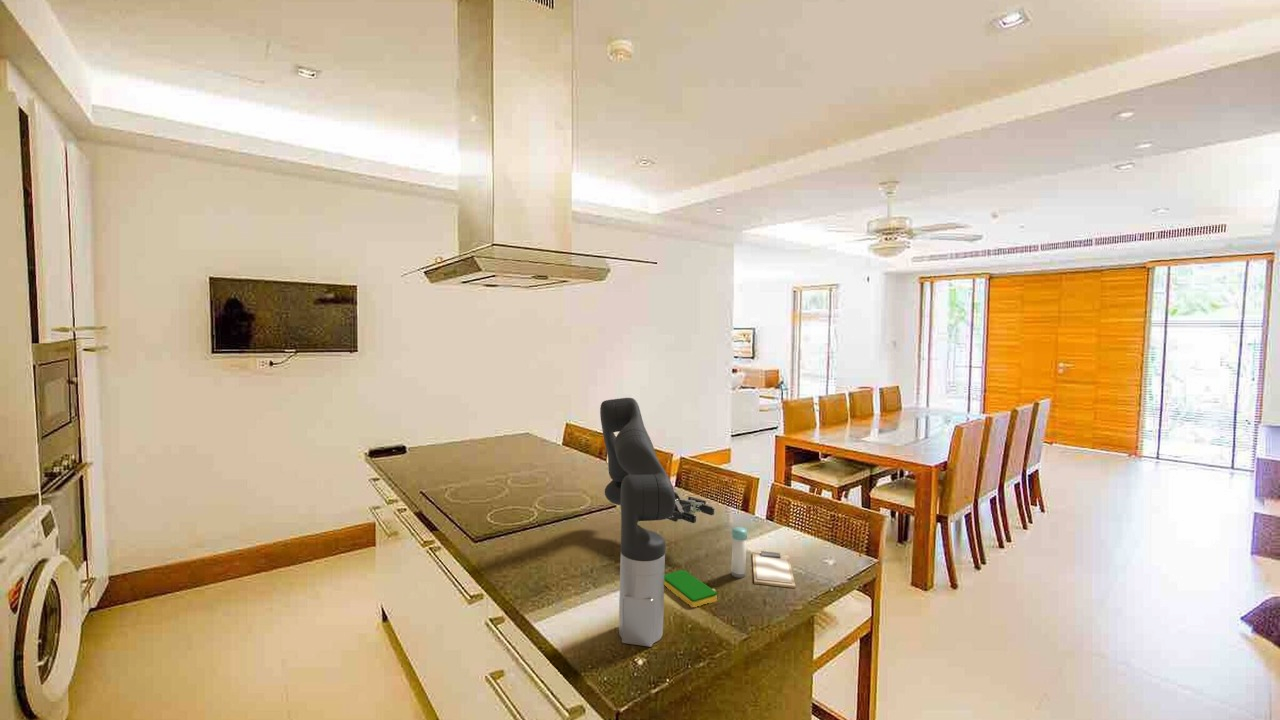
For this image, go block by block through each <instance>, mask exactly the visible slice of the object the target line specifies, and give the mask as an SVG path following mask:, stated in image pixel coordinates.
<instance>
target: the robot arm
mask: <svg viewBox="0 0 1280 720" xmlns="http://www.w3.org/2000/svg"><path fill="white" fill-rule="evenodd" d="M599 408H600V409H599V414H600V424H601V430H602V435H603V441H604V444H605V449H606V453H607V454H606V455H607V466H608V467H607V468H608V474H609V478H610V479H611V481H610V482H609V483H608V484H607V485H606V486H605V489H604V496H605V497H606V499H607V500H608V501H609V502H610V503H612V504H614V505H616V506H617V505H618V506H620V516H621V517H620V523H621V524H620V532H621V533H620V562H619V563H620V565H619V566H620V567H619V568H620V569H619V599H618V601H619V602H618V604H619V605H618V634H619V637H620V638H621V643H622V644H629V645H637V646H641V647H642V646H643V647H650V648H651V647H653V645H654V643H656V642H658V641H660V640H661V638H662V637H663V634H664V606H665V605H664V604H665V603H664V602H665V600H664V599H665V586H664V575H665V568H666V565H665V564H666V563H665V562H666V541H665V537H663V536H662V535H661V534H659V533H658V532H655V531H652V530H649V529H646V528H645V527H642V526H640V525H639V522H647V521H648V522H649V521H650V522H651V521H663V520H666V519H668V520H670V521H672V522H678V520H679V521H686V522H689V523H691V524H695V523H696V522H697V515H696V513H697V512H698V513H703V514H705V515H709V516H713V515H715V507H713V506H710V505H707V500H704V499H700V498H696V497H693V496H688V497H687V499H686V498H680V496H679V494H678V493H677V492H676V491H675V490H674V486H673V484H672V481H671V479H670V478H669V475H668V474H667V472H666V470H665V469H664V467H663V466H662V464H661V462H660V461H659V458H658V456H657V454H656V451H655V447H654V444H653V442H652V440H651V437H650V436H649V434H648V432H647V430H646V427H645V424H644V421H643V418H642V414H641V410H640V405H639V404H638V402H637V400H636V399H634V398H632V397H621V398H614V399H607V400H603V401H602V402H601V404H600V406H599ZM615 433H617V435H616V434H615Z"/></svg>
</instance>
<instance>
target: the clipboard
mask: <svg viewBox="0 0 1280 720" xmlns="http://www.w3.org/2000/svg"><path fill="white" fill-rule="evenodd" d="M752 569H753V582H754V583H753V584H755V585H756V584H757V585H763V586H764V585H765V586H772V587H781V588H791V589H796V583H795V579H794V574H793V570H792V565H791V561H790V556H789V555H785V554H784V555H783V554H781V552H773V551H765V550H763V551H762V550H761V551H760V552H753V551H752Z"/></svg>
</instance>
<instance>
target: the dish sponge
mask: <svg viewBox="0 0 1280 720" xmlns="http://www.w3.org/2000/svg"><path fill="white" fill-rule="evenodd" d="M664 585H665V586H666V587H667V588H666V587H665V586H664V587H665V588H666V589H668V590H669V591H670V590H671V591H670V592H671V593H672V594H674V595H675V594H676V595H675V596H677V597H678V596H679V597H680V598H681V600H682V601H683V602H685V604H687V605H688V604H689V605H690V606H689V605H688V606H689V607H691V608H692V607H696V608H698V607H697V606H699V607H702V606H701V605H703V604H706V605H708V604H707V603H709V604H713V603H716V602H717V595H718V592H717V591H716V590H714V589H712V588H711V587H710V586H709V585H707V584H705V583H704V582H703V581H701V580H700V579H698V578H696V576H694V575H692V574H691V573H689V572H688V571H686V570H684V569H681V570H677V571H672V572H670V573H669V572H668V573H666V574H665V573H664ZM679 597H678V598H679ZM680 598H679V599H680ZM703 606H704V605H703Z"/></svg>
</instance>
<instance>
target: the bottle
mask: <svg viewBox="0 0 1280 720" xmlns="http://www.w3.org/2000/svg"><path fill="white" fill-rule="evenodd" d="M731 531H732V532H731V537H732V541H731V542H732V543H731V545H732V546H731V568H730V569H731V570H730V572H731V573H730V575H731V577H734V578H737V579H743V578H745V577H746V564H747V563H746V561H747V559H746V557H747V539H748V529H747V528H745V527H741V526H736V527H733V528H732V530H731Z"/></svg>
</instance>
